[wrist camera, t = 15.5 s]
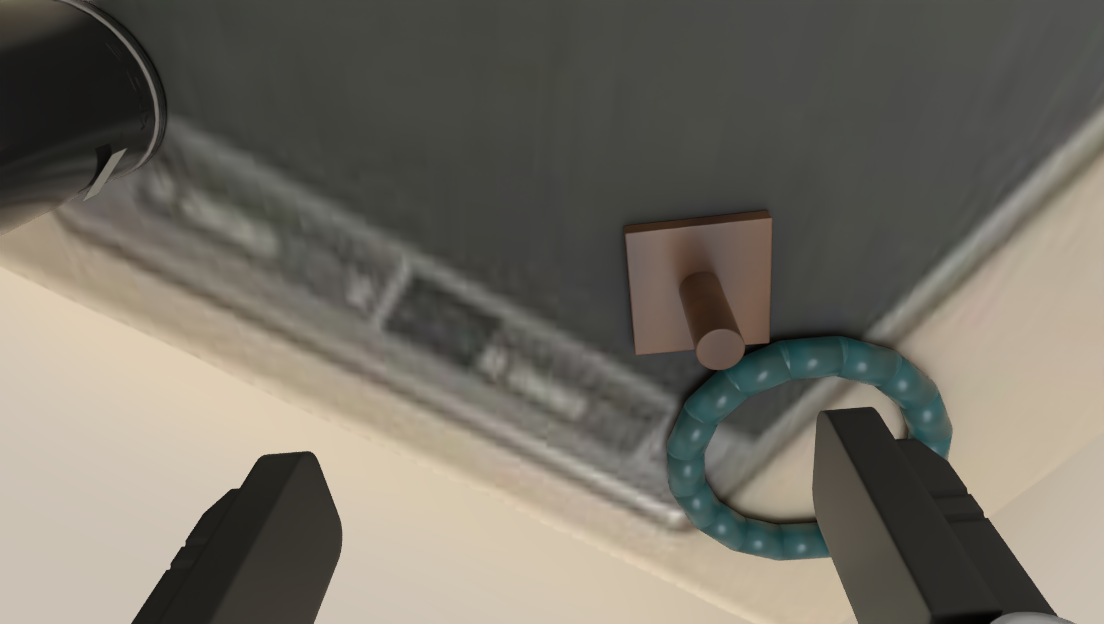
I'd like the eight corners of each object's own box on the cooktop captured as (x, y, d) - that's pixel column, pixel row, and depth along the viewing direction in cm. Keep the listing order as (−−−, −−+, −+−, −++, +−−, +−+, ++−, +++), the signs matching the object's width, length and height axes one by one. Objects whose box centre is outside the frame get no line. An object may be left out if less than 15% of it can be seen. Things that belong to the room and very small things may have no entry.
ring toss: (633, 345, 43) (644, 421, 36) (623, 225, 39) (632, 285, 32) (764, 333, 42) (801, 409, 35) (767, 209, 38) (807, 268, 31)
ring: (672, 548, 51) (676, 574, 49) (658, 344, 42) (662, 365, 40) (921, 532, 49) (936, 558, 47) (958, 316, 41) (979, 337, 39)
